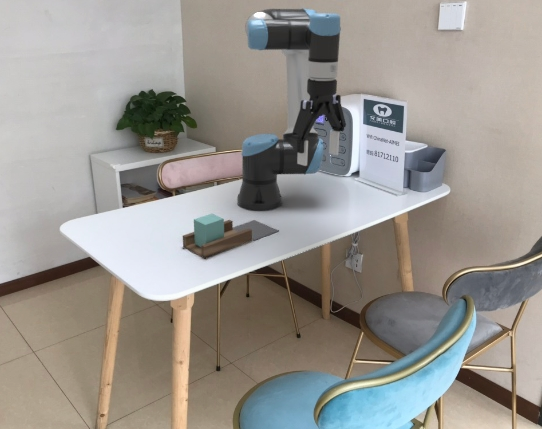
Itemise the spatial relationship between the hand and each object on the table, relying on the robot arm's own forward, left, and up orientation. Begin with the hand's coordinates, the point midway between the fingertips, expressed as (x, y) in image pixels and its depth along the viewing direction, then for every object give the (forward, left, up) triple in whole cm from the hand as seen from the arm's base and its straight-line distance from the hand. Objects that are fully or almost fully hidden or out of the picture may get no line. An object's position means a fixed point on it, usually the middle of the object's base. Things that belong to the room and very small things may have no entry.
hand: (318, 159), depth 144 cm
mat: (-19, -6, -25) cm, 32 cm away
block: (-19, -23, -25) cm, 39 cm away
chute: (-19, -20, -25) cm, 37 cm away
